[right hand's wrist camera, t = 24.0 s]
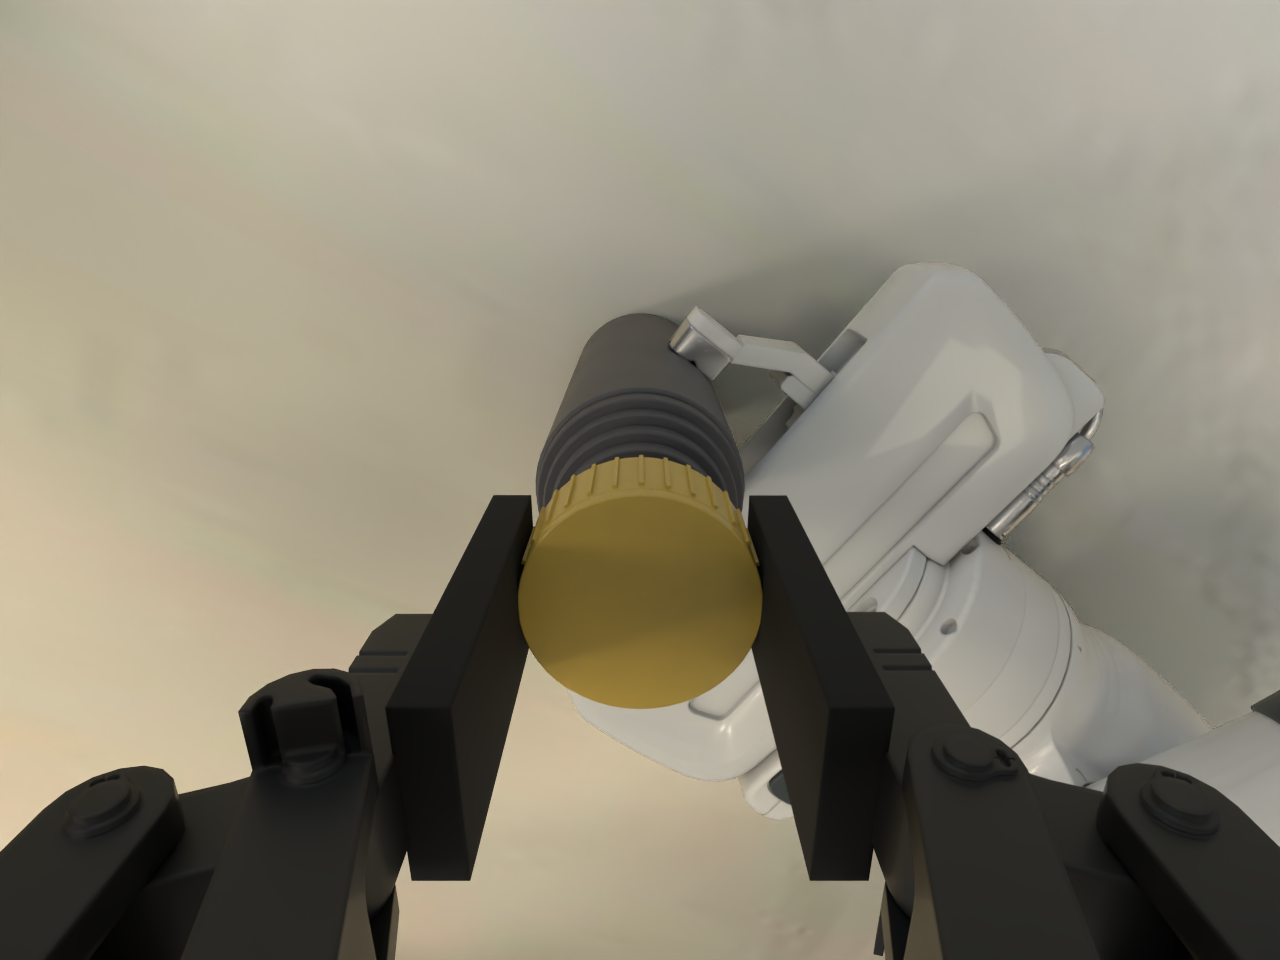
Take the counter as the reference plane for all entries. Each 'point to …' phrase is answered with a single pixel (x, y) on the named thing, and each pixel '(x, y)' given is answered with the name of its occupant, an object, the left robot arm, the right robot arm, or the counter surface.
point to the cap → (640, 584)
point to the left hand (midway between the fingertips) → (618, 405)
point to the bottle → (638, 410)
